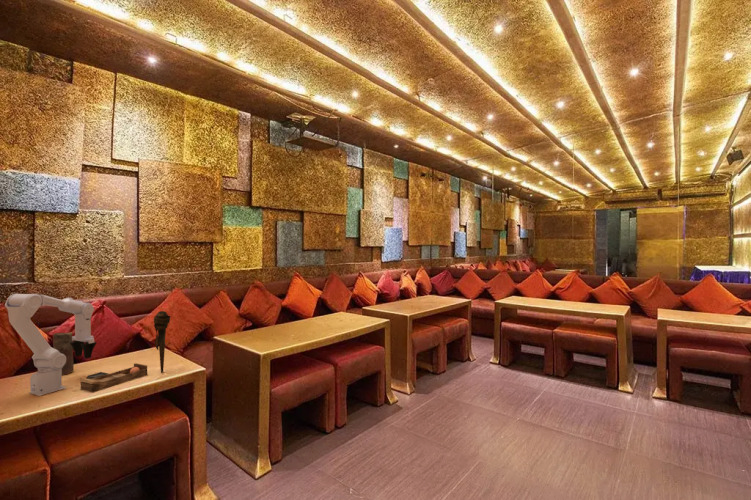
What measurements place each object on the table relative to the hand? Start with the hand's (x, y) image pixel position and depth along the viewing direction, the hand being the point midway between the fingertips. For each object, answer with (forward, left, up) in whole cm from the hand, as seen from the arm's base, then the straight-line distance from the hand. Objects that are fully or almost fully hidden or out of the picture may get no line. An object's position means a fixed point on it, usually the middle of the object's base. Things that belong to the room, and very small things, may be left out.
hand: (83, 357), depth 167 cm
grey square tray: (+1, -10, -10) cm, 14 cm away
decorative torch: (+20, -27, -10) cm, 35 cm away
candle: (0, +17, -10) cm, 20 cm away
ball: (+12, -20, -8) cm, 24 cm away
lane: (+3, -19, -10) cm, 22 cm away
